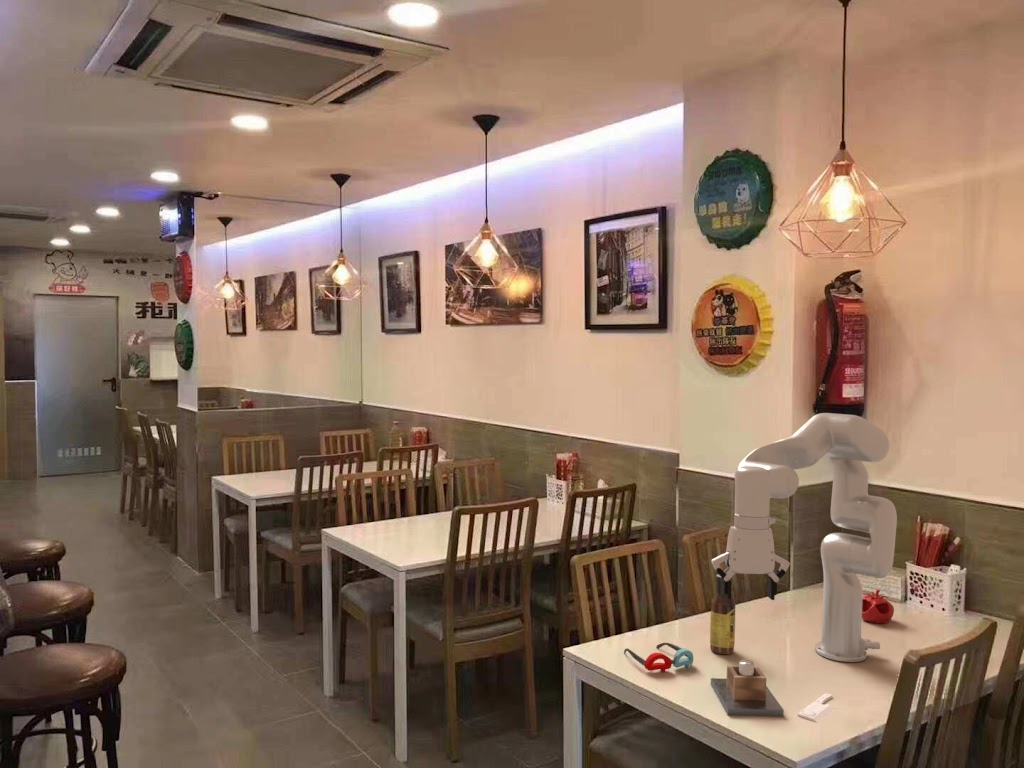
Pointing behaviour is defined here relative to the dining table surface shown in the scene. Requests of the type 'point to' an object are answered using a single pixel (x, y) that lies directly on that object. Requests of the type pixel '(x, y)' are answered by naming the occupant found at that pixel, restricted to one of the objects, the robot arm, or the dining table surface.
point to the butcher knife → (817, 709)
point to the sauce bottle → (722, 621)
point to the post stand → (746, 706)
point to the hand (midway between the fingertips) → (749, 597)
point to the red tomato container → (876, 608)
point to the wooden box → (746, 684)
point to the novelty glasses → (665, 658)
